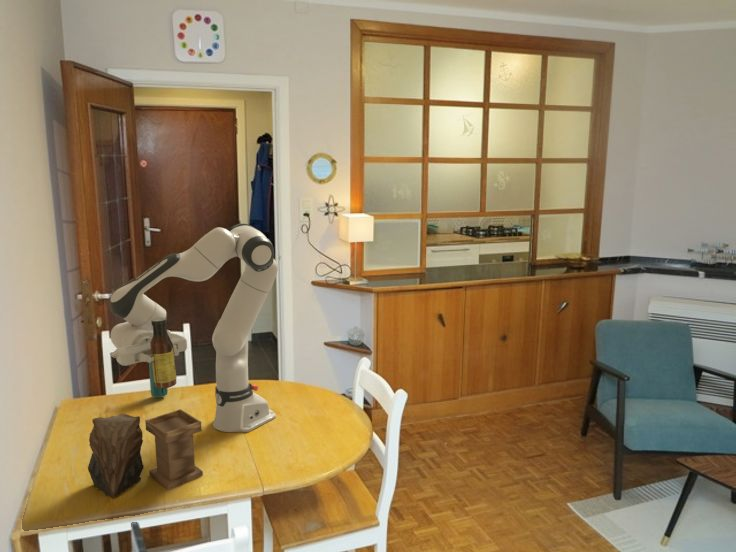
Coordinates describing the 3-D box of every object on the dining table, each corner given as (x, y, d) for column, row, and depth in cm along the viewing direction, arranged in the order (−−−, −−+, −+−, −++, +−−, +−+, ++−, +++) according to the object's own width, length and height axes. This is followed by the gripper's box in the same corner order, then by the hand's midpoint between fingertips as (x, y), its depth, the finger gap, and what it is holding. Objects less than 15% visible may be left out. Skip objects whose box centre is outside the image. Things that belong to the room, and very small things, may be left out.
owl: (87, 484, 172) (81, 420, 168) (126, 466, 182) (122, 405, 178) (112, 499, 165) (106, 432, 161) (151, 480, 175) (147, 416, 171)
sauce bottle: (181, 384, 173) (176, 318, 169) (163, 391, 168) (158, 323, 164) (166, 379, 177) (161, 315, 173) (148, 386, 172) (143, 320, 168)
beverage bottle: (162, 401, 230) (159, 352, 227) (147, 400, 232) (144, 351, 228) (171, 395, 237) (168, 347, 233) (156, 393, 238) (153, 346, 234)
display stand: (183, 461, 186) (180, 409, 182) (203, 476, 178) (201, 421, 174) (148, 474, 178) (145, 420, 175) (168, 490, 170) (165, 433, 166)
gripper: (107, 343, 172) (127, 354, 162) (172, 328, 186) (195, 338, 176) (109, 364, 173) (129, 376, 163) (174, 347, 187) (196, 358, 178)
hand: (164, 356), depth 170 cm, fingers closed on sauce bottle, 6 cm apart
